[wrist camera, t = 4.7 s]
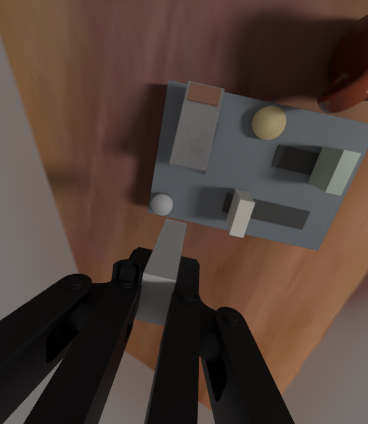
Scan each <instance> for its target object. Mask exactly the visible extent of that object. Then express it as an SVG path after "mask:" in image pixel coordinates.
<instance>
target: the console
mask: <svg viewBox="0 0 368 424" xmlns="http://www.w3.org/2000/svg"><path fill="white" fill-rule="evenodd" d="M187 85H188V84H185V83H180V82H176V81H171V80H169V81H168V87H167V94H166V100H165V106H164V113H163V119H162V125H161V132H160V138H159V144H158V151H157V157H156V163H155V170H154V176H153V182H152V189H151V195H150V201H149V208H148V212H149V213H154V214H158V215H162V216H167V217H171V218H176V219H180V220H185V221H189V222H193V223H198V224H202V225H207V226H211V227H215V228H220V229H224V230H228V226H227V221H226V219H227V216H228V213H229V209H230V206H231V203H232V199H233V196H234V193H235V189H238V190H242V191H247V192H249V194H250V195H251V197H252V199H253V200H254V202H255V205H254V208H253V211H252V214H251V217H250V219H249V222H248V225H247V228H246V231H245V234H246V235H251V236H255V237H260V238H264V239H268V240H273V241H277V242H282V243H286V244H290V245H295V246H299V247H304V248H308V249H313V250H317V251H318V250H319V248H320V246H321V243H322V241H323V239H324V237H325V235H326V233H327V231H328V229H329V227H330V225H331V223H332V221H333V219H334V217H335V215H336V213H337V211H338V209H339V207H340V205H341V202H342V200H343V198H344V196H345V194H346V192H347V190H348V188H349V186H350V184H351V182H352V180H353V178H354V176H355V174H356V172H357V170H358V168H359V166H360V164H361V161H362V159H363V157H364V155H365V153H366V151H367V149H368V123H363V122H358V121H354V120H349V119H345V118H340V117H336V116H331V115H327V114H322V113H317V112H313V111H308V110H304V109H299V108H295V107H290V106H285V105H281V104H276V103H272V102H267V101H263V100H258V99H253V98H249V97H244V96H240V95H235V94H231V93H226V92H224V94H223V98H222V103H221V107H220V112H219V116H218V121H217V125H216V130H215V134H214V139H213V143H212V147H211V152H210V156H209V161H208V165H207V170H206V173H205V175H204V174H200V173H195V172H191V171H186V170H182V169H178V168H173V167H170V158H171V154H172V150H173V145H174V141H175V137H176V132H177V128H178V124H179V119H180V115H181V111H182V106H183V102H184V98H185V93H186V89H187ZM323 146H325V147H331V148H337V149H343V150H348V151H352V152H357V153H361V155H360V157H359V159H358V161H357V163H356V165H355V167H354V169H353V171H352V174H351V176H350V178H349V180H348V182H347V184H346V186H345V188H344V190H343V192H342V194H341V196H340V195H335V194H331V193H326V192H324V191H322V190H320V189H318V188H317V187H315V186H313V185H311V184H310V183H308V181H309V179H310V176H311V174H312V171H313V169H314V167H315V164H316V162H317V159H318V157H319V155H320V152H321V150H322V147H323Z"/></svg>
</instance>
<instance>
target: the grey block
mask: <svg viewBox="0 0 368 424" xmlns="http://www.w3.org/2000/svg"><path fill="white" fill-rule="evenodd" d="M360 155H361V153H357V152H352V151H348V150H343V149H337V148H331V147H325V146H323V147H322V150H321V152H320V155H319V157H318V159H317V162H316V164H315V167H314V169H313V171H312V174H311V176H310V179H309V181H308V183H310V184H311V185H313V186H315V187H317V188H318V189H320V190H322V191H324V192H326V193H331V194H335V195H340V196H341V194H342V192H343V190H344V188H345V186H346V184H347V182H348V180H349V178H350V176H351V174H352V171H353V169H354V167H355V165H356V163H357V161H358V159H359V157H360Z"/></svg>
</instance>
